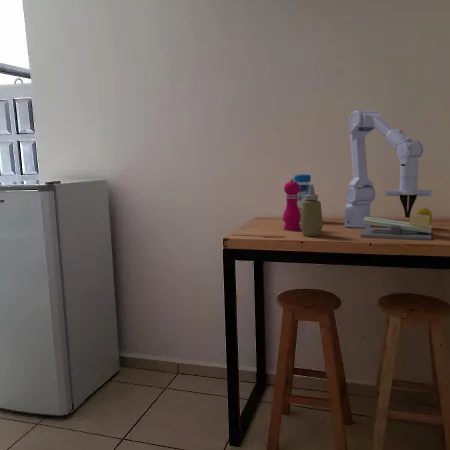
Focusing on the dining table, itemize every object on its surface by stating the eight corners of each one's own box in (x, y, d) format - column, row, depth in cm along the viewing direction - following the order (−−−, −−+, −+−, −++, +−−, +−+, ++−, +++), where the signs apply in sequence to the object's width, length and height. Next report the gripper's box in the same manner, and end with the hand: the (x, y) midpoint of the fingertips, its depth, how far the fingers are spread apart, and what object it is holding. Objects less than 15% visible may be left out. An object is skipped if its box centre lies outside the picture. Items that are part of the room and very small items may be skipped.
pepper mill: (303, 228, 179) (303, 176, 176) (298, 231, 173) (298, 177, 170) (285, 227, 182) (285, 177, 179) (280, 230, 176) (279, 178, 173)
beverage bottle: (316, 222, 194) (316, 174, 191) (297, 223, 192) (297, 175, 189) (307, 219, 202) (307, 174, 199) (289, 220, 200) (289, 174, 197)
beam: (362, 226, 160) (362, 219, 159) (364, 222, 168) (365, 216, 167) (430, 236, 152) (431, 229, 151) (430, 232, 160) (431, 225, 159)
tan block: (408, 228, 156) (410, 215, 155) (409, 225, 160) (411, 213, 159) (427, 230, 154) (429, 217, 153) (427, 228, 158) (429, 215, 157)
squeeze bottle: (321, 237, 158) (321, 185, 156) (297, 236, 161) (297, 185, 159) (324, 233, 166) (324, 183, 163) (302, 232, 169) (302, 183, 166)
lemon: (433, 229, 168) (434, 207, 167) (417, 229, 169) (417, 208, 168) (429, 227, 173) (430, 206, 172) (414, 227, 174) (414, 206, 173)
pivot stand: (360, 237, 157) (360, 226, 156) (366, 229, 171) (366, 220, 171) (431, 240, 148) (431, 229, 148) (430, 232, 163) (430, 222, 162)
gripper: (385, 178, 155) (384, 218, 157) (432, 178, 149) (430, 219, 151) (386, 177, 161) (385, 215, 163) (432, 176, 155) (430, 216, 157)
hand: (407, 217), depth 158 cm, fingers closed
